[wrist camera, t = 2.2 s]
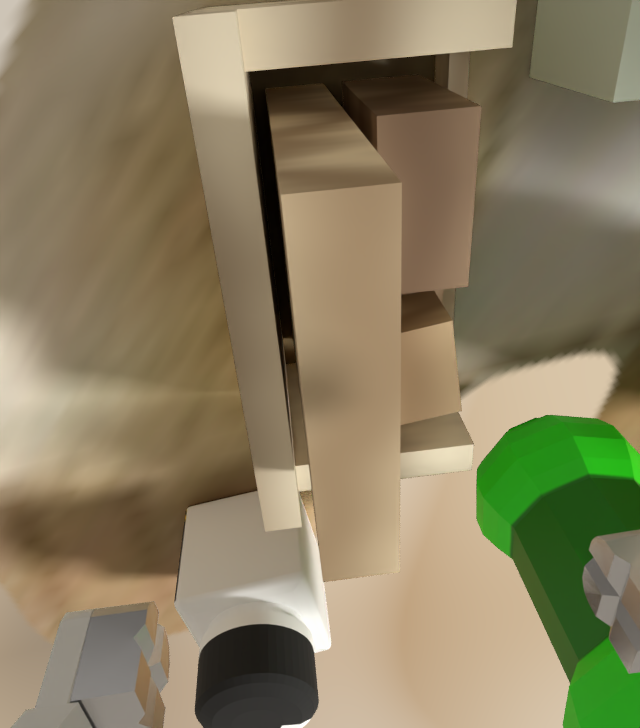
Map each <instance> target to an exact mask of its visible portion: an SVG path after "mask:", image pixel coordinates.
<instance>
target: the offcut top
mask: <svg viewBox="0 0 640 728" xmlns="http://www.w3.org/2000/svg"><path fill="white" fill-rule="evenodd" d="M459 411H462V408H461V399H460V389H459V379H458V369H457V359H456V350H455V340H454V330H453V321H452V319H451V317H450V316H449V314H448V313H447V311H446V309H445V308H444V306H443V304H442V303H441V301H440V299H439V298H438V296H437V295H436V293H435V291H434V290H433V291H424V292H417V293H413V294H409V295H405V296H401V425H404V424H408V423H412V422H416V421H421V420H425V419H429V418H433V417H438V416H442V415H446V414H451V413H455V412H459Z"/></svg>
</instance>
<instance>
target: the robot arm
mask: <svg viewBox="0 0 640 728" xmlns="http://www.w3.org/2000/svg"><path fill="white" fill-rule="evenodd" d="M589 551H590V552H591V554H592V556H593V558H592V559H591V560H590V561H589V562H588V563H587V564H586V565H585V566H584V571H583V576H582V580H583V586H584V592H585V595H586V598H587V600H588V603H589V605H590V607H591V609H592V610H593V612H594V614H595V616H596V617H597V618H599V619H600V620H602V621H603V622H605V623H606V624H608V625H609V626H610V633H609V640H610V642H611V644H612V645H613V647H614V649H615V651H616V652H617V654H618V656H619V657H620V659H621V661H622V663H623V664H624V666H625V668H626V669H627V671H628V673H629V674H630V673H638V672H640V529H639V530H633V531H627V532H621V533H615V534H608V535H602V536H596V537H595V538H594V539H593V540H592V541H591V544H590V548H589ZM158 616H159V612H158V609H157V607H156V605H155V602H154V601H153V602H145V603H137V604H129V605H121V606H113V607H105V608H96V609H89V610H82V611H74V612H67V613H66V614H65V616H64V617H63V619H62V620H61V622H60V625H59V628H58V631H57V635H56V638H55V642H54V645H53V648H52V652H51V655H50V659H49V662H48V666H47V669H46V672H45V676H44V679H43V682H42V686H41V690H40V693H39V696H38V699H37V703H36V706H35V708H33V709H28V710H25V712H24V713H23V714H22V715H21V717H19V718H18V720H17V721H16V722H15V723H14V724H13V725H12V727H11V728H163V724H164V714H165V706H164V703H163V701H162V698H161V695H160V692H161V691H162V689H163V688H164V687H165V685H166V684H167V683H168V678H169V666H170V660H169V659H170V658H169V643H168V637H167V634H166V631H165V628H164V627H162V626H161V625H159V624H157V623H158Z"/></svg>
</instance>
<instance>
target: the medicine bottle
mask: <svg viewBox="0 0 640 728" xmlns="http://www.w3.org/2000/svg"><path fill="white" fill-rule="evenodd" d="M299 502H300V512H301V523H302V527H298V528H290V529H283V530H275V531H267V532H265V528H264V522H263V517H262V511H261V506H260V500H259V495H258V491H254V492H249V493H245V494H241V495H237V496H233V497H228V498H224V499H220V500H216V501H211V502H207V503H203V504H199V505H194V506H190V507H188V508H187V510H186V514H185V522H184V530H183V538H182V546H181V553H180V561H179V569H178V577H177V585H176V593H175V601H174V604H175V608H176V610H177V612H178V613H179V615H180V616H181V618H182V620H183V621H184V623H185V625H186V626H187V628H188V630H189V631H190V633H191V635H192V636H193V638H194V639H195V641H196V643H197V644H198V646H199V647H200V651H199V664H198V676H197V689H196V701H195V714H196V717H197V719H198V721H199V722H200V723H201V725H202V726H203V728H302V727H304V726H305V725H306V724H307V723H308V722H309V721H310V719H311V718H312V716H313V715H314V713H315V711H316V710H317V707H318V690H317V679H316V668H315V657H314V653H315V652H319V651H324V650H328V649H329V648H330V646H331V636H330V628H329V620H328V612H327V604H326V596H325V587H324V582H323V579H322V571H321V562H320V554H319V548H318V545H317V542H316V539H315V536H314V533H313V530H312V527H311V524H310V522H309V519H308V516H307V513H306V510H305V507H304V504H303V501H302V498H301V495H300V492H299Z"/></svg>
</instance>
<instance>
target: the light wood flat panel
mask: <svg viewBox="0 0 640 728" xmlns="http://www.w3.org/2000/svg"><path fill="white" fill-rule="evenodd" d="M265 92H266V101H267V110H268V119H269V128H270V136H271V145H272V154H273V163H274V172H275V181H276V190H277V199H278V208H279V217H280V226H281V235H282V243H283V252H284V261H285V270H286V279H287V288H288V297H289V306H290V315H291V324H292V333H293V341H294V349H295V358H296V366H297V374H298V382H299V390H300V399H301V407H302V415H303V423H304V431H305V439H306V448H307V456H308V464H309V472H310V480H311V489H312V497H313V505H314V513H315V521H316V530H317V538H318V546H319V554H320V562H321V571H322V579H323V582H328V581H336V580H343V579H351V578H358V577H366V576H374V575H381V574H389V573H396V572H400V428H401V240H402V182H401V181H400V180H399V178H398V177H397V176H396V175H395V173H394V172H393V171H392V170H391V168H390V167H389V166H388V165H387V163H386V162H385V161H384V160H383V158H382V157H381V156H380V154H379V153H378V152H377V151H376V149H375V148H374V147H373V146H372V144H371V143H370V142H369V141H368V139H367V138H366V137H365V136H364V134H363V133H362V132H361V131H360V129H359V128H358V127H357V126H356V124H355V123H354V122H353V121H352V119H351V118H350V117H349V115H348V114H347V113H346V112H345V110H344V109H343V108H342V107H341V105H340V104H339V103H338V102H337V100H336V99H335V98H334V97H333V95H332V94H331V93H330V92H329V90H328V89H327V88H326V87H325V85H324V84H323V83H320V84H309V85H298V86H288V87H277V88H266V89H265Z"/></svg>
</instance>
